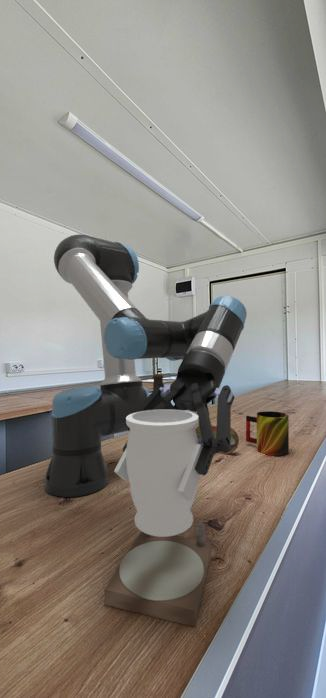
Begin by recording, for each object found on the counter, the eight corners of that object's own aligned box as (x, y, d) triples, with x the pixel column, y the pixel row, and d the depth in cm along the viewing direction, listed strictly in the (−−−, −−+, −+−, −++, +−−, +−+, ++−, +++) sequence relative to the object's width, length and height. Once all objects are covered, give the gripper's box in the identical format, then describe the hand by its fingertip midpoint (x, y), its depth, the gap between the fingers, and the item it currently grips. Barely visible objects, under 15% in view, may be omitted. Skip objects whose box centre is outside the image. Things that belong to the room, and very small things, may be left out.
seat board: (104, 604, 42) (104, 566, 42) (141, 541, 55) (141, 512, 55) (195, 626, 38) (195, 585, 38) (211, 554, 52) (211, 523, 52)
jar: (197, 547, 39) (195, 425, 39) (117, 539, 41) (115, 422, 41) (202, 505, 50) (201, 408, 50) (138, 500, 51) (136, 407, 51)
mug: (246, 444, 110) (246, 409, 110) (289, 449, 104) (289, 412, 104) (241, 452, 101) (241, 415, 101) (287, 458, 96) (287, 418, 96)
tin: (193, 448, 106) (192, 423, 106) (197, 445, 109) (197, 421, 109) (236, 456, 98) (236, 429, 98) (240, 453, 100) (240, 427, 100)
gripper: (276, 380, 51) (238, 522, 38) (161, 375, 64) (105, 479, 52) (264, 347, 47) (217, 495, 34) (144, 349, 60) (78, 455, 47)
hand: (150, 485), depth 43 cm, fingers closed on jar, 10 cm apart
